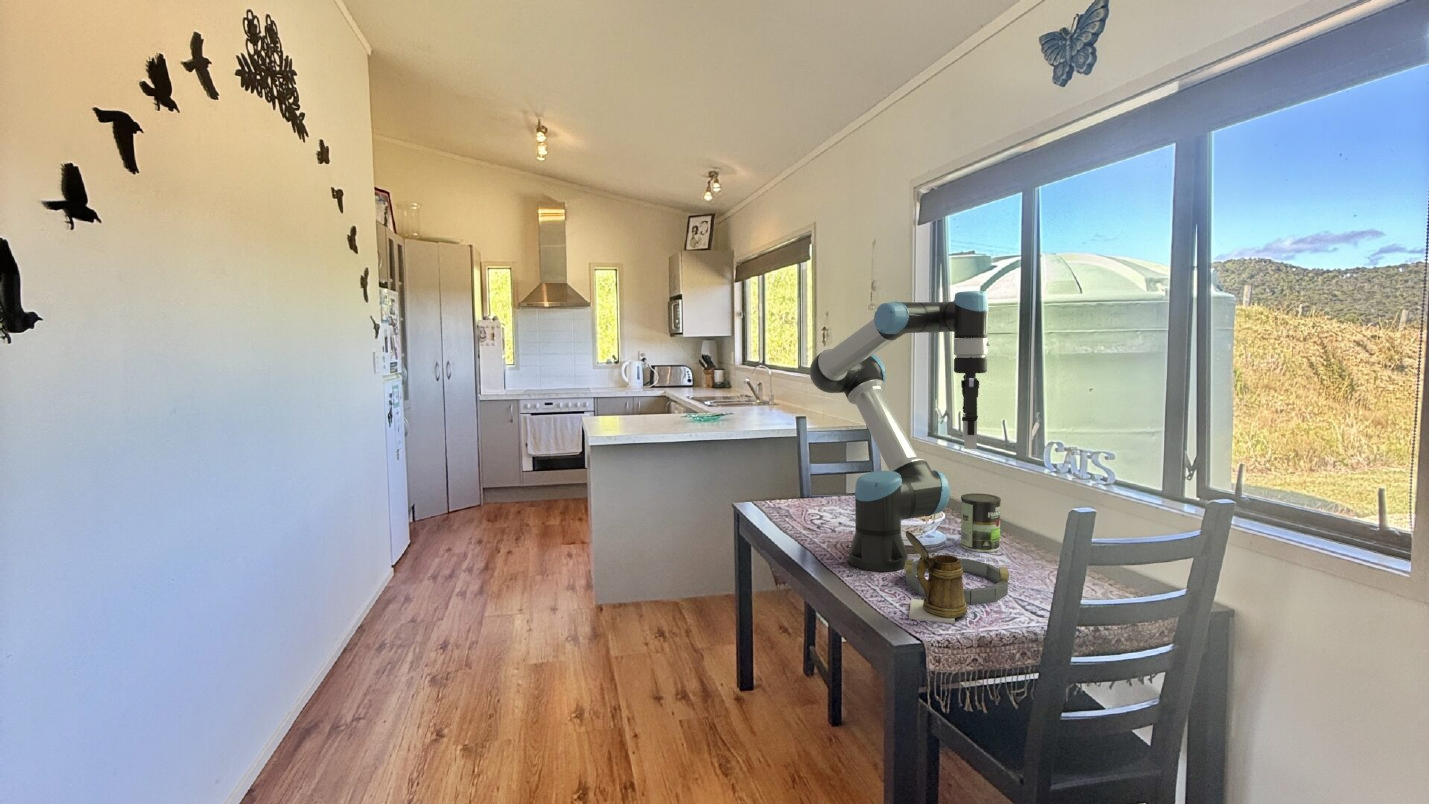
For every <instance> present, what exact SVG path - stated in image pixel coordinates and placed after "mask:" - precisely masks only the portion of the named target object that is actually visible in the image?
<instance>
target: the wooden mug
mask: <svg viewBox="0 0 1429 804" xmlns="http://www.w3.org/2000/svg"><path fill="white" fill-rule="evenodd" d="M905 537H906V539H907V540H908V542H909V543H910V544H911V546H912V547H913V548H914V549H915V550H916V551H917V553H918V554H919V556H920V558H919V559H918V560H919V561H918V565H917V575H916V577H917V578H918V580H919V582H920V584H921V586H922V587H923V589H924V591H925V596H926V597H925V596H924V598H923V600H924V602H923V608H924V609H925V610H926V611H927V612H928V613H930V614H932V615H935V616H939V617H947V618H955V619H956V618H960V617H963V616H964V615H966V614H967V613H968V612H969V611H968V606H967V605H968V604H966V602H965V599H964V590H963V589H964V584H963V583H964V582H963V575H964V572H963V569H962V566H961V563H960V559H959V558H960V557H957V556H956V555H952V554H937V555H934V556H930V554H929V552H928V550H927V549H926V547H925V545H923V543H922V541H920V540H919V538H917V537H916V536H915V535H914V534H913V533H911V532H910V531H908V530H906V532H905ZM927 569H928V572H927V573H928V578H926V575H925V573H926V572H925V571H926V570H927Z"/></svg>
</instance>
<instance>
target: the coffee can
mask: <svg viewBox="0 0 1429 804" xmlns="http://www.w3.org/2000/svg"><path fill="white" fill-rule="evenodd" d="M960 499H961V504H960V505H961V506H960V507H961V509H960V510H961V512H960V514H961V515H960V516H961V517H960V547H961V548H963V549H964V550H967V551H971V552H975V553H993V552H995V553H996V552H998V551H999V550H1000V549H1001V548H1000V546H1001V545H1000V544H1001V543H1000V539H1001V538H1000V533H1001V532H1000V531H1001V501H1002V498H1001V497H1000V496H997V495H993V494H989V493H976V492H975V493H966V494H962V495H961V496H960Z"/></svg>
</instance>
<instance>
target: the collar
mask: <svg viewBox="0 0 1429 804" xmlns="http://www.w3.org/2000/svg"><path fill="white" fill-rule="evenodd" d="M958 558H959V559H960V563H961V566H962V569H963V573H964V572H965V573H969V574H972V575H977V576H980V577H984V578H987V579H988V580H990V581H992V582H994V584H993V585H991V586H984V587H977V588H963V590H964V599H965V602H966V605H977V603H979V604H985V603H986V604H987V603H994V602H995V601H996V602H997V601H998V600H1001V599H1003V598H1005V596H1007V595H1009V594H1008V593H1009V581H1010V573H1009V569H1008V567H1007V566H998V568H997V567H996V566H994V565H993V564H990V563H987V562H982V561H979V560H973V559H970V558H964V557H961V558H960V557H958ZM918 561H919V559H917V560H915V561H914V559H909V558H908V559H906V560H905V567H904V572H905V586H906V587H908V589H910V590H912V591H913V592H914V593H916V594H917V595H919V596H923V597H924V598H925V597H926V596H925V591H924V589H923V587H922V586H921V584H920V582H919V580H918V578H917V565H918ZM925 573H929V572H928V569H927V570H926V571H925Z"/></svg>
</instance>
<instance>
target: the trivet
mask: <svg viewBox="0 0 1429 804" xmlns="http://www.w3.org/2000/svg"><path fill="white" fill-rule="evenodd" d="M923 602H924V599H915V598H911V600H910V605H909V606H910V607H909V615H908V617H909V620H919V621H929V622H937V623H947V624H955V619H956V618H947V617H939V616H935V615H932V614H930V613H928V612H927V611H926V610H925V609H924V608H923Z"/></svg>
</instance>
